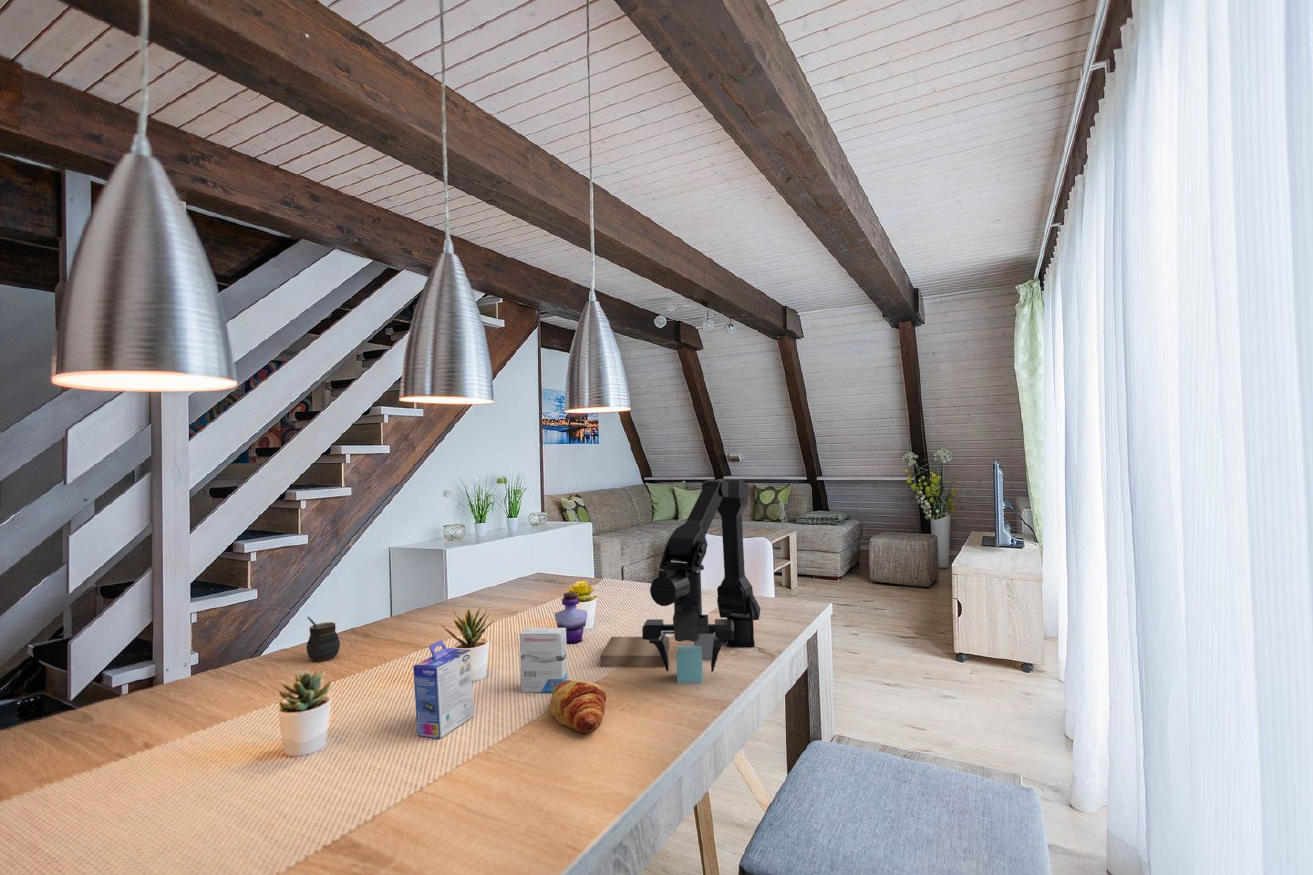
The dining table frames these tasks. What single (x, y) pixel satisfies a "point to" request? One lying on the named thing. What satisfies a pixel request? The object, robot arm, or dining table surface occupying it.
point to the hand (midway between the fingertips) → (689, 670)
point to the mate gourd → (322, 641)
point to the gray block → (705, 645)
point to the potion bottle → (571, 618)
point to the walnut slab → (631, 653)
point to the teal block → (689, 664)
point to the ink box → (543, 659)
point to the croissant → (578, 705)
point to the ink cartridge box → (443, 691)
